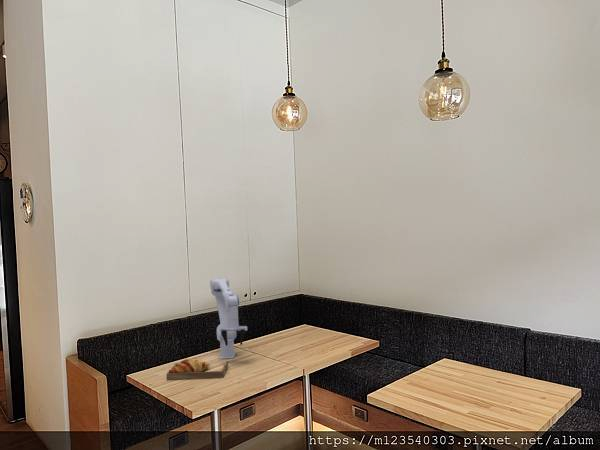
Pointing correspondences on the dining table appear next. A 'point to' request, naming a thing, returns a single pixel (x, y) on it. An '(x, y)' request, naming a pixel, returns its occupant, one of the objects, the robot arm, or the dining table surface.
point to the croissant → (190, 366)
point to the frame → (197, 374)
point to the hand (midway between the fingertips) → (234, 344)
